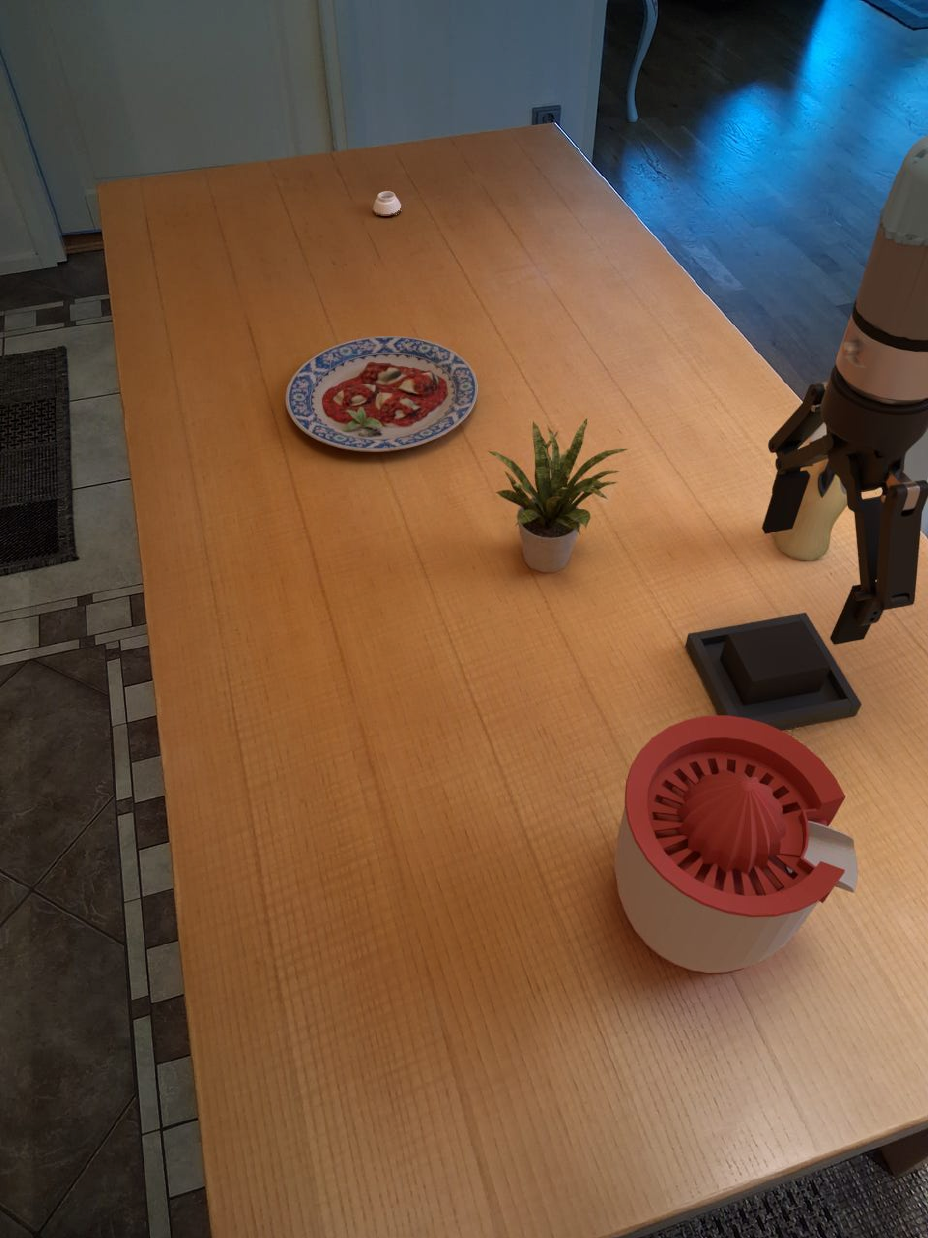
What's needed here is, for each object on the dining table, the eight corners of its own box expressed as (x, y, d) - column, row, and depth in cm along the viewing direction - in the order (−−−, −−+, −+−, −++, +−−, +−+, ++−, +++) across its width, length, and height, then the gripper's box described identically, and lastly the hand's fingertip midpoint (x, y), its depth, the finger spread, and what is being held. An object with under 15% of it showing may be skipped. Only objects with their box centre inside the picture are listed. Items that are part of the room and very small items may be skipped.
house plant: (646, 563, 101) (668, 449, 89) (559, 626, 95) (570, 513, 83) (556, 500, 108) (565, 386, 96) (470, 555, 103) (468, 441, 90)
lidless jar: (368, 209, 159) (381, 221, 156) (367, 192, 156) (379, 204, 154) (394, 202, 160) (406, 213, 157) (392, 185, 158) (405, 197, 155)
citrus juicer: (809, 1031, 69) (901, 932, 54) (585, 971, 72) (612, 861, 57) (815, 849, 78) (894, 721, 63) (617, 803, 82) (647, 670, 67)
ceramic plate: (367, 330, 133) (365, 312, 131) (514, 385, 124) (514, 366, 121) (248, 419, 120) (243, 401, 118) (402, 489, 110) (400, 470, 108)
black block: (793, 645, 92) (803, 620, 89) (819, 691, 88) (831, 666, 85) (719, 658, 91) (727, 633, 88) (743, 706, 87) (752, 681, 84)
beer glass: (757, 538, 103) (790, 434, 92) (796, 512, 106) (833, 408, 95) (805, 573, 100) (846, 468, 88) (845, 545, 102) (890, 440, 91)
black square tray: (801, 624, 95) (806, 612, 93) (855, 716, 87) (862, 704, 86) (684, 645, 93) (688, 633, 92) (730, 740, 86) (734, 729, 84)
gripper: (764, 293, 71) (715, 495, 87) (935, 500, 55) (836, 701, 71) (852, 280, 71) (788, 483, 88) (1047, 480, 55) (924, 683, 72)
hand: (809, 581), depth 79 cm, fingers open, 13 cm apart
